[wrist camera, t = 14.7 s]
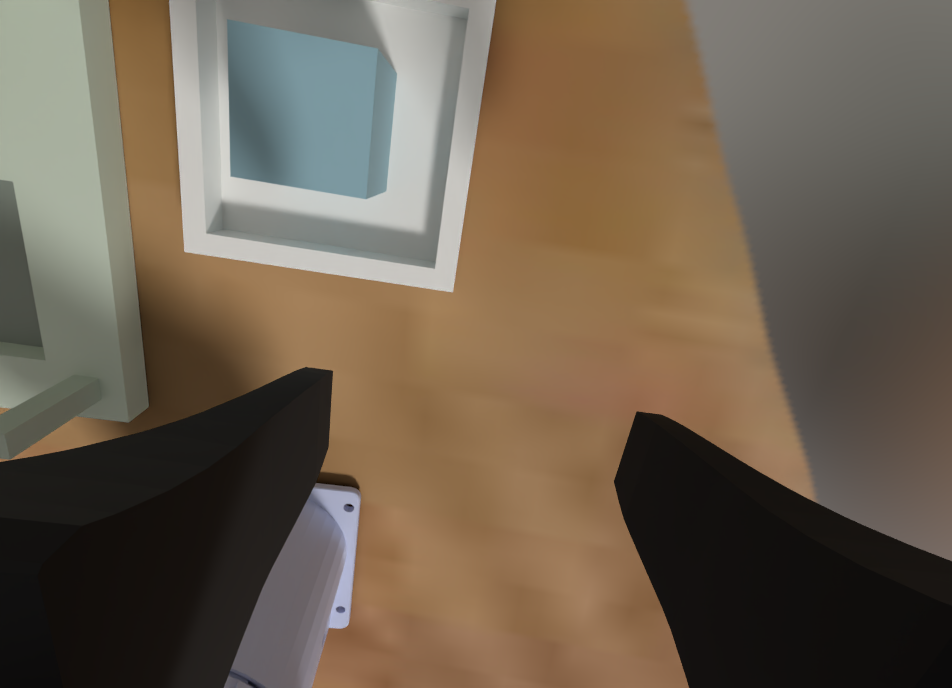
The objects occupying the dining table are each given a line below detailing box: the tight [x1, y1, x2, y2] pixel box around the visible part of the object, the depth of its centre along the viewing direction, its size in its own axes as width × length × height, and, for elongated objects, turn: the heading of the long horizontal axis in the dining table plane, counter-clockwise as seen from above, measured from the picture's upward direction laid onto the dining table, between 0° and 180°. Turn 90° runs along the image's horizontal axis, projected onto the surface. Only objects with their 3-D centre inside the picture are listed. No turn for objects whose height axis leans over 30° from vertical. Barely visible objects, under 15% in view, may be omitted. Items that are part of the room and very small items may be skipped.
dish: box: [169, 0, 496, 292], centre depth 17 cm, size 10×10×2 cm
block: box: [227, 19, 397, 199], centre depth 15 cm, size 4×4×4 cm
